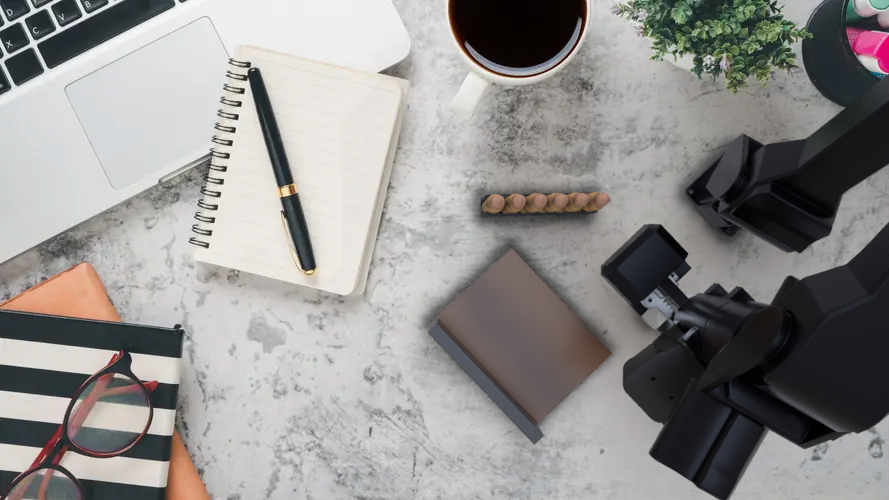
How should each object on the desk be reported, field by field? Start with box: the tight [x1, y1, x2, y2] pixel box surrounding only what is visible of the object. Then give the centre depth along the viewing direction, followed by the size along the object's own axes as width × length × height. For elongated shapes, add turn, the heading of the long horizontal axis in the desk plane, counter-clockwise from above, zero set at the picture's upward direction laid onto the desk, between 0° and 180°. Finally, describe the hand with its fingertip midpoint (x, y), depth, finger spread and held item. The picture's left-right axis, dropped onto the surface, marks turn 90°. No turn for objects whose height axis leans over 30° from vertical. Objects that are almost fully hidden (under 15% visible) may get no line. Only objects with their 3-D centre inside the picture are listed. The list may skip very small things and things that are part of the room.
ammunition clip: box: [480, 191, 611, 218], centre depth 59 cm, size 11×2×12 cm, turn 91°
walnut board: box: [427, 247, 613, 445], centre depth 62 cm, size 11×14×6 cm
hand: (669, 315), depth 63 cm, fingers open, 6 cm apart
